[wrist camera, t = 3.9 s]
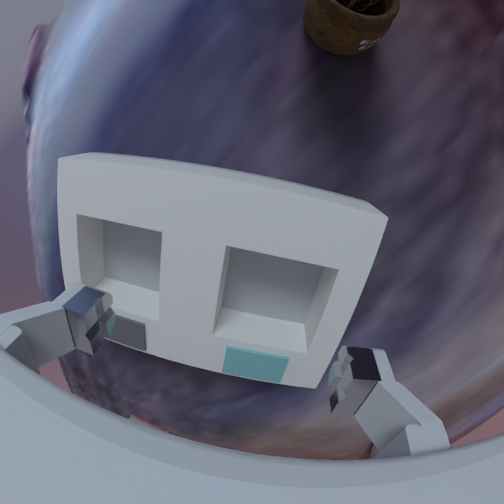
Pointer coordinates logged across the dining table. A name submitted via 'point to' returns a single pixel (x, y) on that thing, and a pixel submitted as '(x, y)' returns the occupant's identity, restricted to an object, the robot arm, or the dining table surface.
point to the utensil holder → (348, 23)
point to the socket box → (217, 262)
